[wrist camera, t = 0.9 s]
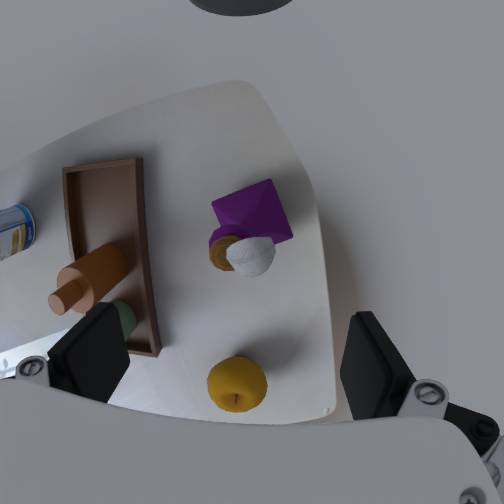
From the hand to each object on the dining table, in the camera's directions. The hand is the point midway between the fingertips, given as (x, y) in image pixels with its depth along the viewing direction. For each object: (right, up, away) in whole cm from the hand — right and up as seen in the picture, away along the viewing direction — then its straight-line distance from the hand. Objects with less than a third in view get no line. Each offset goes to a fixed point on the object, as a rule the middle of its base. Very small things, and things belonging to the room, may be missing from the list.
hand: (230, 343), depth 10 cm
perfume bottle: (+1, +8, +26) cm, 27 cm away
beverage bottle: (-40, +8, +28) cm, 49 cm away
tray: (-20, +2, +29) cm, 35 cm away
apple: (-1, -15, +33) cm, 36 cm away
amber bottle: (-20, +2, +28) cm, 35 cm away
